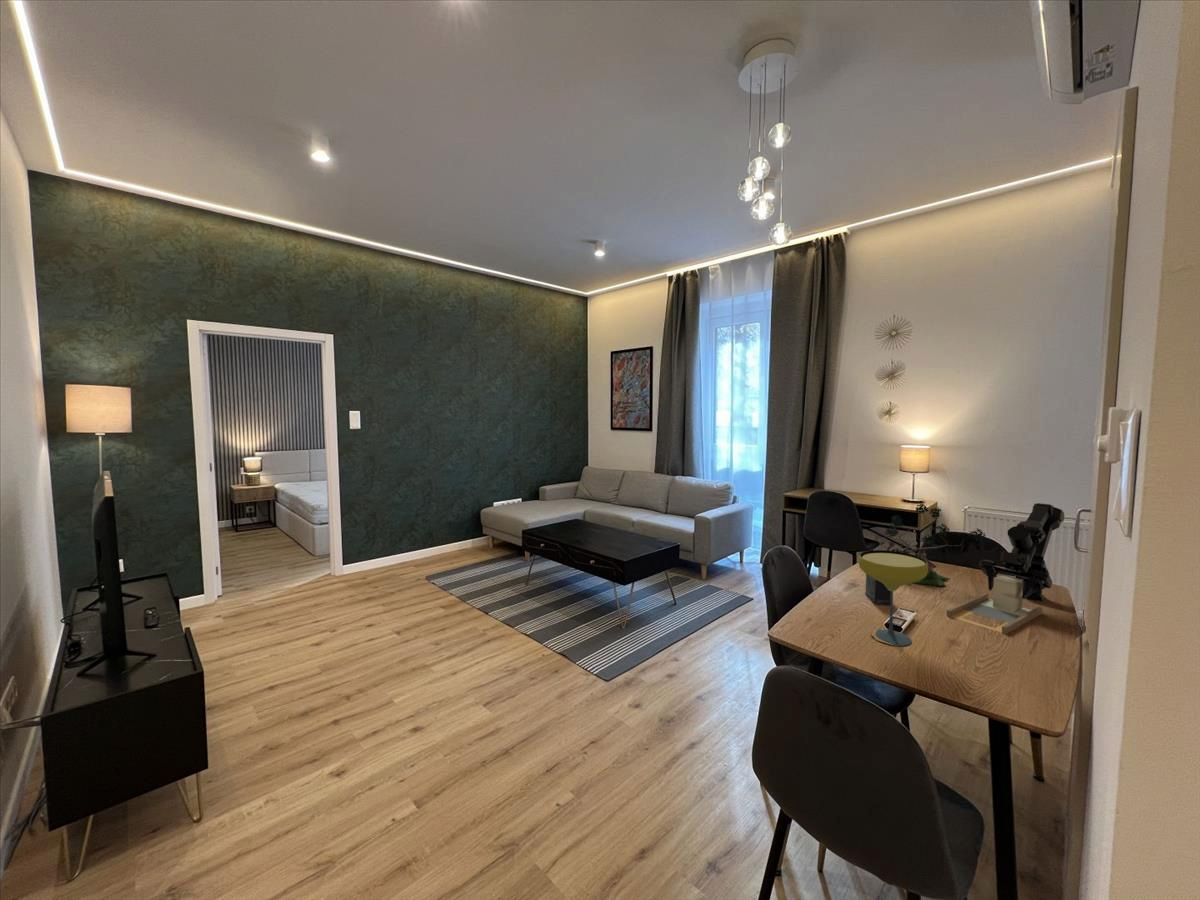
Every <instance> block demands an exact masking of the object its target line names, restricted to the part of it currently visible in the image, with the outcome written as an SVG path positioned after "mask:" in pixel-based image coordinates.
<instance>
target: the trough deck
mask: <svg viewBox="0 0 1200 900" xmlns="http://www.w3.org/2000/svg"><path fill="white" fill-rule="evenodd" d="M972 614H977V615H980V616H983V617H987V618H991V619H994V620H997V621H1001V622H1004V623H1002V624H999V626H997V627H993V626H989V625H985V624H983V623H982V624H981V623H980V622H976V621H972V620H969V619H966V617H967V616H969V615H972ZM1040 615H1043V607H1041V606H1037V607H1035V608H1033V609H1028V608H1026V607H1025V608H1024V607H1022V609H1020V610H1019V611H1017V612H1015V613H1014V612H1010V611H1006V610H1003V609H999V608H995V607H993V599H991V598H989V593H987V592H984V593H981V594H978V595H977V596H975V597H972V598H970V599H968V600H966V601H964V602H961V603H960V604H959V603H958V604H957V605H955V606H952V607H950V608H948V609H946V617H949V618H952V619H955V620H958V621H961V622H965V623H968V624H971V625H975V626H979V627H980V628H981V627H982V628H984V629H987V630H991V631H994V632H997V633H1001V634H1004V635H1007V634H1008V633H1009V634H1010V632H1012V631H1014V630H1016V629H1018V628H1020V627H1021V626H1023V625H1025V624H1026V623H1028V622H1030V621H1031V620H1033V619H1035V618H1037V617H1038V616H1040Z"/></svg>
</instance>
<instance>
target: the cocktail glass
mask: <svg viewBox="0 0 1200 900" xmlns="http://www.w3.org/2000/svg"><path fill="white" fill-rule="evenodd" d="M921 557H922V556H918V555H916V554H913V553H903V552H897V551H896V550H895V551H891V550H889V551H887V549H886V550H883V549H882V550H881V549H877V550H876V549H874V550H873V549H872V550H866V551H865V550H864V551H862V552H860V554H859V556H858V565H859V568H860V570H861V571H862V572H863V573H865V575H866V574H867V575H869V576H870V577H872V578H874V579H876V580H878V581H880V582H881V583H883V584H884V585H885V586H886V588H887V589H888V590H889V591H891V595H890V605H889V626H888V629H885V630H879V629H877V630H878V631H876V636H877V637H878V638H879V639H881V640H883V641H885V642H888V643H891V644H893V645H899V646H898V647H906V646H905V645H907V646H910V645H911V644H912V641H913V640H912V638H910V637H909V635H906V634H904V633H902V632H900V633H899V631H896V630H894V625H893V622H894V621H893V619H894V618H893V617H894V616H893V610H894V608H893V605H894V592H896V591H897V590H898V589H899V588H900V587H902V586H905V585H910V584H915V583H914V582H917V581H920V580H921V579H923V578H925V577H926V575H927V573H928V563H927V561H926V560H925V559H923V558H921ZM895 631H896V632H895ZM909 644H910V645H909Z"/></svg>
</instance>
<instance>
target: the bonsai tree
mask: <svg viewBox="0 0 1200 900" xmlns="http://www.w3.org/2000/svg"><path fill="white" fill-rule="evenodd" d="M929 511H930V512H929ZM941 511H942V509H940V508H939V507H933V508H930V509H929V508H928V507H927V506H926V505H925V504H924V503H919V504H917V505H916V507H915V511H914V512H915V513H916V514H917V513H918V514H922V515H923V517H924V518H925V519H926V521H927V522H928V524H929V525H930V527H931V528H932V529H933V530H934V531H935V533H936V534H938V535H939V537H940V538H942V539H943V541H944V542H945V544H944V545H937V544H935V543H934V542H936V539H935V537H933V536H931V535H930V534H926V535H924V536H923V537H921V539H920V538H918V535H917V534H915V537H916V539H918V540H919V541H920V542H922V543H925V544H924V545H923V546H922V547H921V548H920V547H919V546H918V545H919V543H918V541H915V544H913V545H909V543H907V542H906V541H904V540H902V539H901V537H902V536H903V535H905V534H906V533H908V532H909V531H910V530H911V528H910V527H909V526H908V525H911V526H912V524H911V523H908V522H907V523H908V525H906V527H907V528H908V530H907V531H905V532H903V533H902V534H900V535H899V537H898V539H899V541H901V542H902V543H903V544H905V545H906V547H905V548H904V549H902V550H901V549H899V548H892V547H893V546H894V543H893V542H892V541H891V540H889V539H887V538H891V537H896V536H898V534H899V533H900V532H899V531H898V528H902V527H903V526H904V524H903V520H904V519H903V518H902V517H901V515H900V514H898V515H893V516H892V517H891V521H890V524H889V527H888V528H885V532H884V534H885V535H887V536H883V537H881V539H882V540H883V541H885V542H887V543H890V545H889V546H888V547H887V548H886V550H887V551H897V552H903V553H908V554H912V555H916V556H918V555H920V557H921V558H923V559H925V560H926V561H927V563H928V573H927V575H926V577H925V578H923V579H921V580H920V581H917V582H914V583H913V584H917V585H918V584H919V585H928V586H929V585H930V586H935V587H939V588H943V586H944V585H945V582H944V580H945V581H948V580H950V578H949V577H947V576H943V575H941V574H939V573H938V572H937V570H934V569H935V568H937V567H938V566H937V565H936V564H935V563H933V562H932V561H931V560H929V559H928V558H927V551H929V550H936V549H942V548H946V547H947V546H948V547H952V545H949V543H948V541H947V540H946V539H945V538H944V536H947V535H948V533H949V532H950V530H951V529H950V528H949V527H947V525H946V524H945V523H940V525H936V526H935V524H936V522H938V518H939V517H940V516H941V514H940V512H941ZM925 512H928V514H929V515H930V516H931V518H933V520H935V519H936V521H935V522H934V523H933V526H932V525H931V523H930V522H929V520H928V519H927V518H926V515H925V514H924V513H925ZM945 518H947V517H945ZM947 519H948V518H947ZM891 524H892V525H891ZM913 528H914V531H915V533H917V531H916V529H915V527H913ZM937 530H938V531H939V532H938V531H937ZM968 533H969V535H973V538H974V540H976V541H977V542H979V541H980V542H983V539H984V538H985V537H987V536H986V533H985V532H983V530H982V529H980V528H978V527H977V528H976V529H975V530H974V531H973V530H972V531H971V530H970V531H968ZM963 542H964V540H962V542H961V543H960V545H957V544H955V547H960V546H961V545H962V544H963ZM926 544H928V545H930V547H925V545H926ZM914 547H915V548H914ZM910 548H914V549H910ZM890 549H891V550H890ZM916 552H921V553H916Z"/></svg>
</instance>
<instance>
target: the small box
mask: <svg viewBox="0 0 1200 900" xmlns="http://www.w3.org/2000/svg"><path fill="white" fill-rule="evenodd" d="M864 592H865V594H866V595H867V596H866V595H865V596H866V597H867V598H868V599H869V601H870V602H872V603H873V605H875V604H876V605H878V606H879V605H881V606H890V595H891V591H889V590H888V589H887V588H886V586H885V585H884V584H883V583H881V582H880V581H878V580H876V579H874V578H872V577H870V576H869V575H867V574H866V573H865V591H864Z"/></svg>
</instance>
